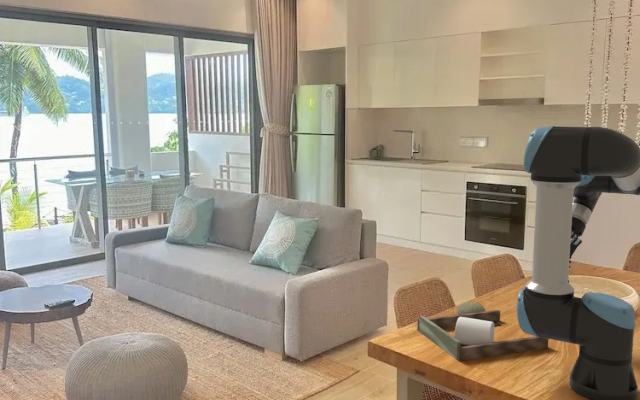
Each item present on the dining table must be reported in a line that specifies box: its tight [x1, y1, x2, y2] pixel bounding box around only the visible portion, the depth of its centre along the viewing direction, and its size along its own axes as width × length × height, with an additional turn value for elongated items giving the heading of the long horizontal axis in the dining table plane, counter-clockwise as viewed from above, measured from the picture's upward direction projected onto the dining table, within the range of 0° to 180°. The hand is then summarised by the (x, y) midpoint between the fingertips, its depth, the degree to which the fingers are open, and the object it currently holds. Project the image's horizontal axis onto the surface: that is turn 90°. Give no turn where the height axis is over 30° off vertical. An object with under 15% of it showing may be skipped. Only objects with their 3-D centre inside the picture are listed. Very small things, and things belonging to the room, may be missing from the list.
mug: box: [454, 317, 496, 346], centre depth 168 cm, size 12×10×8 cm
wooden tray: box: [416, 309, 550, 362], centre depth 172 cm, size 30×24×5 cm
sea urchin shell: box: [456, 301, 486, 315], centre depth 191 cm, size 9×8×8 cm
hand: (544, 286), depth 170 cm, fingers closed
